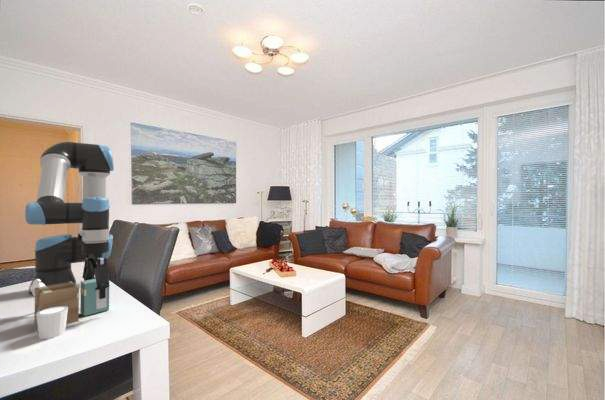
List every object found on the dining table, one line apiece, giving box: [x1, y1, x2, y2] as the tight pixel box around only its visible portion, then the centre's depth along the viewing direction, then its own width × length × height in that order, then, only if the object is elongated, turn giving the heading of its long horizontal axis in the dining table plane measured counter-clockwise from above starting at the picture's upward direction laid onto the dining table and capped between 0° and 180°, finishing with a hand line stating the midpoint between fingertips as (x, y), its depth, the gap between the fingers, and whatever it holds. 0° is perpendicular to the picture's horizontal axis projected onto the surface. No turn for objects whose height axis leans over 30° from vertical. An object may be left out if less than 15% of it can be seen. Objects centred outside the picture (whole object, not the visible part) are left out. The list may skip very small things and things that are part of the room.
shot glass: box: [36, 306, 68, 340], centre depth 79 cm, size 7×7×7 cm
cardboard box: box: [34, 281, 80, 329], centre depth 86 cm, size 9×9×11 cm
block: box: [79, 279, 110, 317], centre depth 94 cm, size 5×7×11 cm, turn 142°
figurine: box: [29, 279, 45, 317], centre depth 92 cm, size 7×4×12 cm, turn 45°
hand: (95, 303), depth 94 cm, fingers open, 12 cm apart
